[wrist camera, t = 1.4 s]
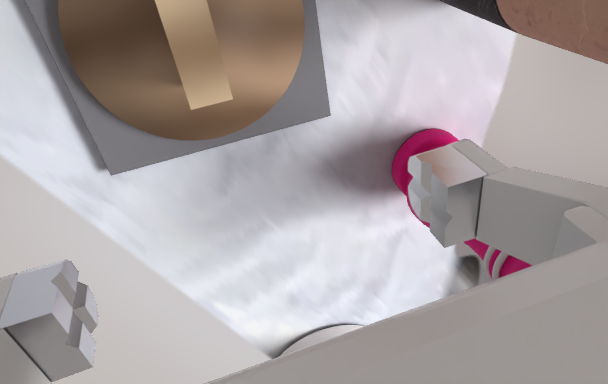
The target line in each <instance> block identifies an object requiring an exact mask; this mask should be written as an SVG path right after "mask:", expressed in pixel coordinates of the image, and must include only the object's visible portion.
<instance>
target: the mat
mask: <svg viewBox="0 0 608 384" xmlns="http://www.w3.org/2000/svg"><path fill="white" fill-rule="evenodd" d="M25 2H26V4H27V6H28V8H29V10H30V12H31V14H32V16H33V18H34V20H35V22H36V24H37V26H38V28H39V30H40V32H41V34H42V36H43V38H44V40H45V42H46V44H47V46H48V48H49V50H50V53H51V55H52V57H53V59H54V61H55V63H56V65H57V67H58V69H59V71H60V73H61V75H62V77H63V79H64V81H65V83H66V85H67V87H68V89H69V91H70V93H71V95H72V97H73V99H74V101H75V103H76V105H77V107H78V109H79V111H80V113H81V115H82V117H83V120H84V122H85V124H86V126H87V128H88V130H89V132H90V134H91V136H92V138H93V140H94V142H95V144H96V146H97V148H98V150H99V152H100V154H101V156H102V158H103V160H104V162H105V164H106V166H107V168H108V170H109V172H110V174H111V175H115V174H119V173H122V172H126V171H130V170H133V169H137V168H140V167H144V166H148V165H151V164H155V163H159V162H162V161H166V160H170V159H173V158H177V157H181V156H184V155H188V154H192V153H195V152H199V151H203V150H206V149H210V148H214V147H217V146H221V145H225V144H228V143H232V142H236V141H239V140H243V139H247V138H250V137H254V136H258V135H261V134H265V133H269V132H272V131H276V130H280V129H283V128H287V127H291V126H294V125H298V124H302V123H305V122H309V121H313V120H316V119H320V118H324V117H327V116H331V115H330V108H329V100H328V93H327V85H326V78H325V70H324V63H323V56H322V48H321V41H320V33H319V26H318V18H317V11H316V3H315V0H302V3H303V8H304V19H305V31H304V43H303V49H302V54H301V58H300V61H299V65H298V67H297V70H296V72H295V75H294V77H293V79H292V81H291V83H290V84H289V86H288V88H287V90H286V91H285V93H284V94H283V95H282V97H281V98H280V99H279V101H278V102H277V103H276V104H275V105H274V106H273V107H272V108H271V109H270V110H269V111H268V112H267V113H266V114H265V115H263V116H262V117H261V118H260V119H258V120H257V121H255V122H254V123H252V124H251V125H249V126H247V127H245V128H243V129H241V130H239V131H237V132H235V133H232V134H229V135H226V136H223V137H219V138H214V139H209V140H198V141H185V140H175V139H168V138H164V137H160V136H156V135H152V134H150V133H147V132H145V131H142V130H139V129H137V128H135V127H134V126H132V125H130V124H128V123H126V122H124V121H123V120H121V119H120V118H118V117H117V116H115V115H114V114H113V113H111V112H110V111H109V110H108V109H107V108H105V107H104V106H103V105H102V104H101V103H100V102H99V101H98V100H97V99H96V98H95V97H94V96H93V95H92V94H91V92H90V91H89V90H88V89H87V87H86V86H85V85H84V83H83V82H82V80H81V79H80V78H79V76H78V74H77V72H76V71H75V69H74V67H73V65H72V63H71V61H70V59H69V56H68V54H67V51H66V49H65V46H64V42H63V38H62V34H61V30H60V24H59V15H58V0H25Z"/></svg>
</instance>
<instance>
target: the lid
mask: <svg viewBox="0 0 608 384" xmlns="http://www.w3.org/2000/svg"><path fill="white" fill-rule="evenodd" d="M58 15H59V24H60V30H61V34H62V38H63V42H64V46H65V49H66V51H67V54H68V56H69V59H70V61H71V63H72V65H73V67H74V69H75V71H76V72H77V74H78V76H79V78H80V79H81V80H82V82H83V83H84V85H85V86H86V87H87V89H88V90H89V91H90V92H91V94H92V95H93V96H94V97H95V98H96V99H97V100H98V101H99V102H100V103H101V104H102V105H103V106H104V107H105V108H107V109H108V110H109V111H110V112H111V113H113V114H114V115H115V116H117V117H118V118H120V119H121V120H123V121H124V122H126V123H128V124H130V125H132V126H134V127H135V128H137V129H139V130H142V131H145V132H147V133H150V134H152V135H156V136H160V137H164V138H168V139H175V140H185V141H198V140H209V139H214V138H219V137H223V136H226V135H229V134H232V133H235V132H237V131H239V130H241V129H243V128H245V127H247V126H249V125H251V124H252V123H254V122H255V121H257V120H258V119H260V118H261V117H262V116H263V115H265V114H266V113H267V112H268V111H269V110H270V109H271V108H272V107H273V106H274V105H275V104H276V103H277V102H278V101H279V99H280V98H281V97H282V95H283V94H284V93H285V91H286V90H287V88H288V86H289V84H290V83H291V81H292V79H293V77H294V75H295V72H296V70H297V67H298V65H299V61H300V58H301V54H302V49H303V43H304V31H305V19H304V8H303V3H302V0H58Z"/></svg>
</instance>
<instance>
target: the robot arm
mask: <svg viewBox="0 0 608 384" xmlns="http://www.w3.org/2000/svg"><path fill="white" fill-rule="evenodd" d="M408 172H409V173H410V174H411V175H412V176H413V179H412V180H411V182H410V183H409V185H408V196H409V200H410V203H411V207H412V209H413V210H414V212H415V214H416V215H417V216H418V218H419V219H420V220H422V221H425V222H428V223H430V232H431V233H432V234H433V235H434V236H435V238H436V239H437V240H438V241H439V242H440V243H441V244H442V246H443V247H444V248H445V247H448V246H452V245H455V244H458V243H461V242H465V241H468V240H471V239H474V238H476V240H478V241H481V242H483V243H485V244H487V245H489V246H491V247H494V248H496V249H498V250H500V251H502V252H505V253H507V254H509V255H511V256H513V257H515V258H518V259H520V260H522V261H524V262H526V263H529V264H531V265H533V266H531V267H528V268H525V269H523V270H520V271H517V272H514V273H512V274H509V275H506V276H503V277H501V278H498V279H495V280H492V281H490V282H487V283H484V284H481V285H478V286H476V287H473V288H470V289H467V290H465V291H462V292H459V293H456V294H453V295H451V296H448V297H445V298H442V299H439V300H437V301H434V302H431V303H428V304H425V305H423V306H420V307H417V308H414V309H411V310H409V311H406V312H403V313H400V314H397V315H395V316H392V317H389V318H386V319H383V320H381V321H378V322H375V323H372V324H369V325H366V326H360V325H341V326H335V327H330V328H326V329H323V330H320V331H317V332H315V333H312V334H310V335H308V336H306V337H304V338H302V339H300V340H299V341H297V342H296V343H294V344H293V345H291V346H290V347H289V348H287V349H286V350H285V351H284V352H283V353H282V354H281V355H280V356H279V357H277V358H275V359H272V360H269V361H266V362H264V363H261V364H258V365H255V366H252V367H250V368H247V369H244V370H242V371H239V372H236V373H233V374H230V375H228V376H225V377H222V378H219V379H216V380H213V381H211V382H208V383H205V384H608V187H603V186H599V185H594V184H590V183H585V182H581V181H576V180H571V179H567V178H562V177H558V176H553V175H549V174H544V173H540V172H534V171H531V170H525V169H521V168H517V167H513V168H510V169H509V168H507V167H506V166H505V165H503V164H502V163H501V162H499V161H498V160H496V159H495V158H494V157H492V156H491V155H490V154H488V153H487V152H486V151H484V150H483V149H482V148H480V147H479V146H478V145H476V144H475V143H474V142H472V141H471V140H468V139H463V140H460V141H457V142H454V143H451V144H448V145H446V146H443V147H440V148H437V149H433V150H430V151H427V152H424V153H421V154H417V155H414V156H411V157H410V158H409V161H408ZM78 274H79V271H78V270H77V269H76V267H75V266H74V264H73V263H72V261H69V260H62V261H59V262H55V263H52V264H48V265H44V266H41V267H37V268H33V269H30V270H26V271H23V272H20V273H16V274H13V275H9V276H6V277H3V278H0V384H52V383H51V382H53V381H56V380H59V379H62V378H64V377H67V376H70V375H72V374H75V373H78V372H81V371H83V370H86V369H89V368H91V367H93V361H94V352H95V343H96V342H95V340H94V338H93V337H92V335H91V333H92V332H93V330H94V329H95V328H96V326H97V323H98V311H97V304H96V301H95V298H94V296H93V293H92V292H91V290H90V288H89V287H88V286H87V285H85V284H83V283H80V282H78V281H77V280H78Z"/></svg>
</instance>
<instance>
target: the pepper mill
mask: <svg viewBox="0 0 608 384" xmlns="http://www.w3.org/2000/svg"><path fill="white" fill-rule="evenodd" d="M457 141H459V140H458V139H457V138H455V137H454V136H453V135H452V134H450V133H449V132H447V131H444V130H440V129H428V130H425V131H422V132H419V133H417V134H415V135H414V136H412V137H411V138H409V139H408V140H407V141H406V142H405V143H404V144H403V145H402V146H401V147H400V149H399V150H398V152H397V154H396V156H395V158H394V161H393V165H392V176H393V179H394V181H395V183H396V185H397V186H398V187H399V188H400V189H401V191H402V192H403V193H404V194H405V195H406V196H407V202H408V205H409V207H410V209H411V211H412V213H413V214H414V215H415V216H416V217H417V218H418V216H417V215H416V214H415V212H414V210H413V209H412V207H411V203H410V200H409V196H408V185H409V183H410V182H411V180H412V179H413V176H412V175H411V174H410V173H409V172H408V161H409V158H410V157H411V156H414V155H417V154H421V153H424V152H427V151H430V150H433V149H437V148H440V147H443V146H446V145H448V144H451V143H454V142H457ZM418 219H419V218H418ZM419 220H420V219H419ZM420 221H421V222H422V223H423V224H424V225H426V226H427V227H429V228H430V223H428V222H425V221H422V220H420ZM464 243H465V244H467V245H468V246H470V247H471V248H472V249H473V250H474V251H475V252H476V253H477V254H478V255H479V256H480V257H481V259H482V260H483V268H484V271H485V274H486V275H487V276H488V277H489V278H490V279H492V280H495V279H498V278H501V277H503V276H506V275H509V274H512V273H514V272H517V271H520V270H523V269H525V268H528V267H531V266H533V265H531V264H529V263H526V262H524V261H522V260H520V259H518V258H515V257H513V256H511V255H509V254H507V253H505V252H502V251H500V250H498V249H496V248H494V247H491V246H489V245H487V244H485V243H483V242H481V241H478V240H476V238H474V239H471V240H468V241H465V242H464Z"/></svg>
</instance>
